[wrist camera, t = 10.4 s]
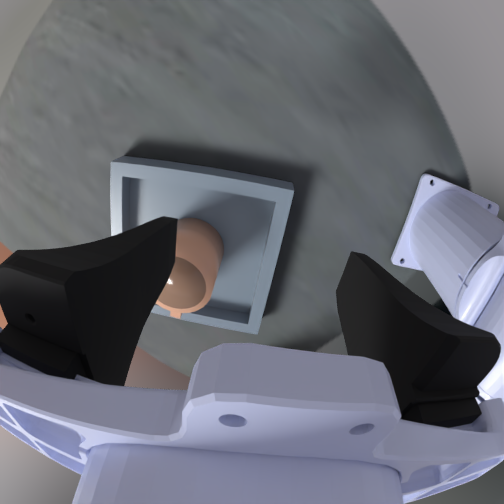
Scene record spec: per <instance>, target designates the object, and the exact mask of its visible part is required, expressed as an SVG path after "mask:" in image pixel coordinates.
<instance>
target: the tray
mask: <svg viewBox="0 0 504 504" xmlns="http://www.w3.org/2000/svg"><path fill="white" fill-rule="evenodd" d="M293 194H294V187H293V183H292V182H287V181H282V180H277V179H272V178H267V177H262V176H257V175H252V174H247V173H241V172H235V171H230V170H224V169H218V168H212V167H206V166H199V165H192V164H186V163H179V162H171V161H164V160H156V159H148V158H139V157H130V156H122V157H120V158H118V159H115V160H113V161H111V182H110V201H111V234H112V236H114V235H117V234H119V233H122V232H124V231H127V230H130V229H132V228H135V227H137V226H139V225H142V224H144V223H146V222H149V221H151V220H153V219H156V218H159V217H162V216H166V217H172V218H178V220H179V219H183V218H197V219H200V220H203V221H205V222H207V223H209V224H210V225H211V226H213V227H214V228H215V229H216V230H217V231H218V233H219V234H220V236H221V238H222V241H223V244H224V255H223V258H222V262H221V265H220V268H219V271H218V275H217V278H216V281H215V285H214V288H213V291H212V295H211V298H210V300H209V301H208V303H207V304H206V305H205V306H204V307H203V308H201V309H199V310H197V311H195V312H191V313H182V316H181V318H180V319H182V320H186V321H191V322H195V323H200V324H205V325H210V326H215V327H220V328H225V329H230V330H235V331H241V332H246V333H252V334H258V331H259V327H260V323H261V320H262V316H263V312H264V308H265V305H266V301H267V297H268V293H269V290H270V286H271V282H272V278H273V274H274V270H275V267H276V263H277V259H278V255H279V251H280V247H281V243H282V239H283V235H284V231H285V227H286V223H287V219H288V215H289V211H290V207H291V203H292V198H293ZM151 312H152V313H156V314H160V315H164V316H168V317H171V316H170V311H169V310H166V309H164V308H162V307H160V306H159V305H157V304H156V303H155V305H154V307H153V309H152V311H151ZM173 318H175V317H173ZM177 319H179V318H177Z"/></svg>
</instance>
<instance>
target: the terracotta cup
mask: <svg viewBox="0 0 504 504" xmlns="http://www.w3.org/2000/svg"><path fill="white" fill-rule="evenodd" d="M223 255H224V244H223V241H222V238H221V236H220V234H219V233H218V231H217V230H216V229H215V228H214V227H213V226H211V225H210V224H209V223H207V222H205V221H203V220H200V219H197V218H183V219H179V220H178V223H177V238H176V256H175V264H174V266H173V269H172V272H171V274H170V277H169V279H168V281H167V283H166V285H165V287H164V289H163V291H162V293H161V294H160V296H159V298H158V300H157V302H156V304H157V305H159V306H160V307H162V308H164V309H166V310H169V311H170V316H171V317H175V318H179V319H180V318H181V316H182V313H191V312H195V311H197V310H199V309H201V308H203V307H204V306H205V305H206V304H207V303H208V301H209V300H210V298H211V295H212V291H213V288H214V285H215V281H216V278H217V275H218V271H219V268H220V265H221V262H222V258H223Z"/></svg>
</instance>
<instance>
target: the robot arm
mask: <svg viewBox="0 0 504 504" xmlns="http://www.w3.org/2000/svg"><path fill="white" fill-rule="evenodd" d="M432 179H433V183H432V184H431V185H430V181H431V180H432ZM488 205H489V207H488ZM498 212H499V205H498V204H496V203H494V202H492V201H490V200H488V199H486V198H484V197H482V196H480V195H477V194H475V193H473V192H471V191H469V190H466V189H464V188H462V187H459V186H457V185H455V184H452V183H450V182H447V181H445V180H443V179H440V178H437V177H435V176H432V175H430V174H426V173H425V174H423V175H422V176H421V178H420V181H419V185H418V188H417V191H416V194H415V196H414V199H413V202H412V205H411V208H410V211H409V213H408V216H407V219H406V222H405V224H404V227H403V229H402V232H401V235H400V237H399V240H398V242H397V245H396V247H395V249H394V252H393V254H392V257H391V261H392V263H393V264H395V265H399V266H403V267H408V268H413V269H417V270H422V271H424V272H425V274H426V275H427V277H428V278H429V280H430V281H431V283H432V284H433V286H434V287H435V289H436V290H437V292H438V293H439V295H440V296H441V298H442V299H443V301H444V302H445V304H446V306H447V307H448V309H449V310H450V312H451V314H452V315H453V317H452V316H450V315H448V314H446V313H444V312H443V311H441V310H439V309H437V308H436V307H434V306H432V305H431V304H429V303H427V302H426V301H425V300H423V299H422V298H420V297H419V296H417V295H416V294H415V293H413V292H412V291H411V290H409V289H408V288H407V287H405V286H404V285H403V284H402V283H400V282H399V281H398V280H397V279H396V278H394V277H393V276H392V275H391V274H390V273H388V272H387V271H386V270H385V269H384V268H383V267H381V266H380V265H379V264H378V263H376V262H375V261H374V260H373V259H371V258H370V257H368V256H367V255H365V254H361V253H357V252H352V251H351V253H350V256H349V259H348V261H347V264H346V267H345V269H344V272H343V275H342V277H341V280H340V282H339V285H338V287H337V290H336V297H337V308H338V314H339V318H340V322H341V326H342V330H343V335H344V339H345V343H346V347H347V352H348V355H338V354H329V353H319V352H311V351H303V350H295V349H287V348H280V347H273V346H267V345H260V344H254V343H223V344H220V345H218V346H216V347H213V348H211V349H209V350H206V351H204V352H202V353H201V355H200V356H199V358H198V360H197V362H196V363H195V365H194V367H193V371H192V375H191V379H190V383H189V387H188V390H167V389H150V388H137V387H126V386H124V384H125V381H126V377H127V374H128V371H129V367H130V364H131V361H132V358H133V355H134V351H135V348H136V346H137V343H138V340H139V337H140V335H141V332H142V329H143V327H144V325H145V322H146V320H147V318H148V316H149V314H150V313H151V311H152V309H153V307H154V305H155V303H156V302H157V300H158V298H159V296H160V294H161V293H162V291H163V289H164V287H165V285H166V283H167V281H168V279H169V277H170V274H171V272H172V269H173V266H174V264H175V256H176V238H177V223H178V218H172V217H166V216H162V217H159V218H156V219H153V220H151V221H149V222H146V223H144V224H142V225H139V226H137V227H135V228H132V229H130V230H127V231H124V232H122V233H119V234H117V235H114V236H111V237H108V238H105V239H102V240H98V241H95V242H91V243H86V244H81V245H76V246H71V247H64V248H56V249H44V250H17V251H15V252H14V253H13V254H12V255H11V256H10V257H8V258H7V259H6V260H5V261H4V262H3V263H2V264H0V305H1V307H2V310H3V312H4V315H5V318H6V320H7V322H8V324H7V326H6V327H5V328H4V329H3V330H2V328H1V327H0V426H2V427H3V428H5V429H6V430H7V431H9V432H10V433H12V434H13V435H15V436H16V437H17V438H19V439H20V440H22V441H23V442H25V443H26V444H28V445H30V446H31V447H33V448H34V449H36V450H37V451H39V452H41V453H42V454H44V455H46V456H47V457H49V458H51V459H52V460H54V461H56V462H58V463H60V464H61V465H63V466H65V467H67V468H69V469H71V470H73V471H75V472H77V473H79V474H81V478H80V481H79V484H78V487H77V490H76V493H75V496H74V499H73V502H72V504H405V503H408V502H412V501H415V500H418V499H421V498H425V497H428V496H430V495H434V494H436V493H439V492H442V491H444V490H448V489H450V488H453V487H456V486H458V485H461V484H464V483H466V482H469V481H471V480H474V479H476V478H478V477H479V476H481V475H483V474H484V473H486V472H487V471H489V470H490V469H492V468H493V467H494V466H496V465H497V464H499V463H500V462H501V461H503V460H504V222H503V221H502V220H501V219H499V218H498V217H497V214H498ZM402 258H404V259H403V261H400V260H401V259H402Z"/></svg>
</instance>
